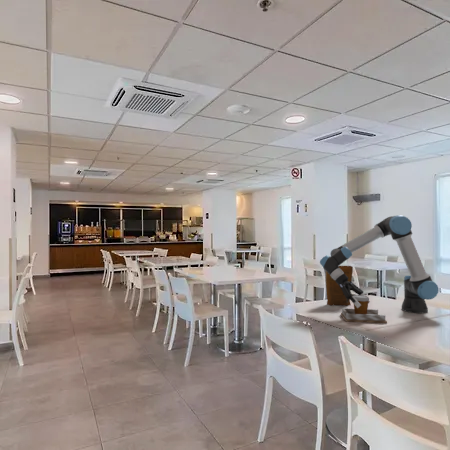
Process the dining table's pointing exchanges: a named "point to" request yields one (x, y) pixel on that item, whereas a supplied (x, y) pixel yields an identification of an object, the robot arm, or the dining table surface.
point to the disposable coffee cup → (364, 303)
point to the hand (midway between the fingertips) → (364, 304)
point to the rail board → (363, 316)
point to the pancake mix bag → (337, 288)
